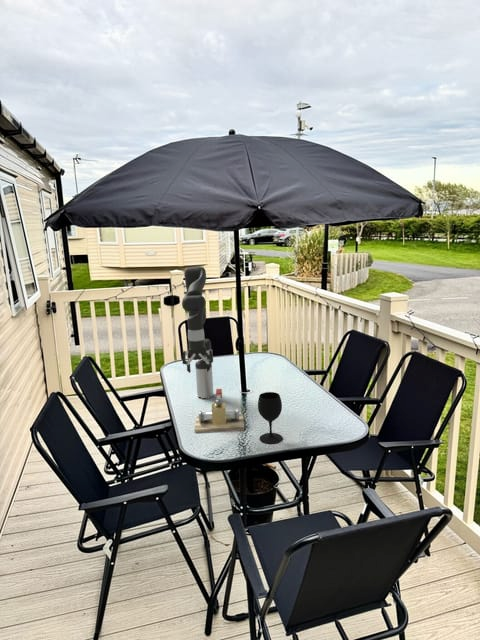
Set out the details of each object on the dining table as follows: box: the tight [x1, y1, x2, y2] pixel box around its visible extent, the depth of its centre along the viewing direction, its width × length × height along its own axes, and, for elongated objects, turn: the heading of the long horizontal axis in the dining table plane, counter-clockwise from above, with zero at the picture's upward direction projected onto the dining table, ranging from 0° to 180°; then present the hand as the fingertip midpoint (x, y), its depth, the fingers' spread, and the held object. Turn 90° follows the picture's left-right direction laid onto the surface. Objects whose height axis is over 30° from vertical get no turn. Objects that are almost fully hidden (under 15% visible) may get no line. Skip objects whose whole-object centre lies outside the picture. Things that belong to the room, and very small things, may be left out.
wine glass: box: [257, 391, 284, 445], centre depth 186 cm, size 10×10×20 cm
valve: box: [198, 402, 240, 425], centre depth 204 cm, size 6×19×8 cm, turn 91°
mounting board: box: [193, 413, 245, 433], centre depth 205 cm, size 15×23×2 cm, turn 91°
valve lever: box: [214, 388, 223, 406], centre depth 210 cm, size 17×3×3 cm, turn 1°
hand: (198, 371), depth 201 cm, fingers open, 8 cm apart
